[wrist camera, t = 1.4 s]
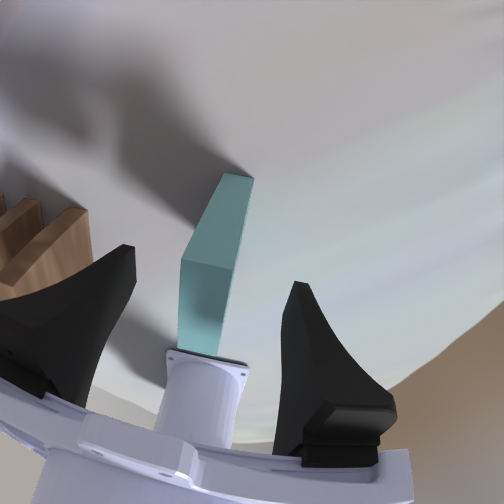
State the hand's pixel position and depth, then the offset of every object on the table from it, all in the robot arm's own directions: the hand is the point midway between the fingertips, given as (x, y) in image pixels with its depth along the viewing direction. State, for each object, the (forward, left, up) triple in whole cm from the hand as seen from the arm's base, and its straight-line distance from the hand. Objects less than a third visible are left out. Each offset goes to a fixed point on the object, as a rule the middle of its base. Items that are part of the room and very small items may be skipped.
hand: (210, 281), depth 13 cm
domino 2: (-5, +12, -7) cm, 14 cm away
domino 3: (0, 0, -7) cm, 7 cm away
